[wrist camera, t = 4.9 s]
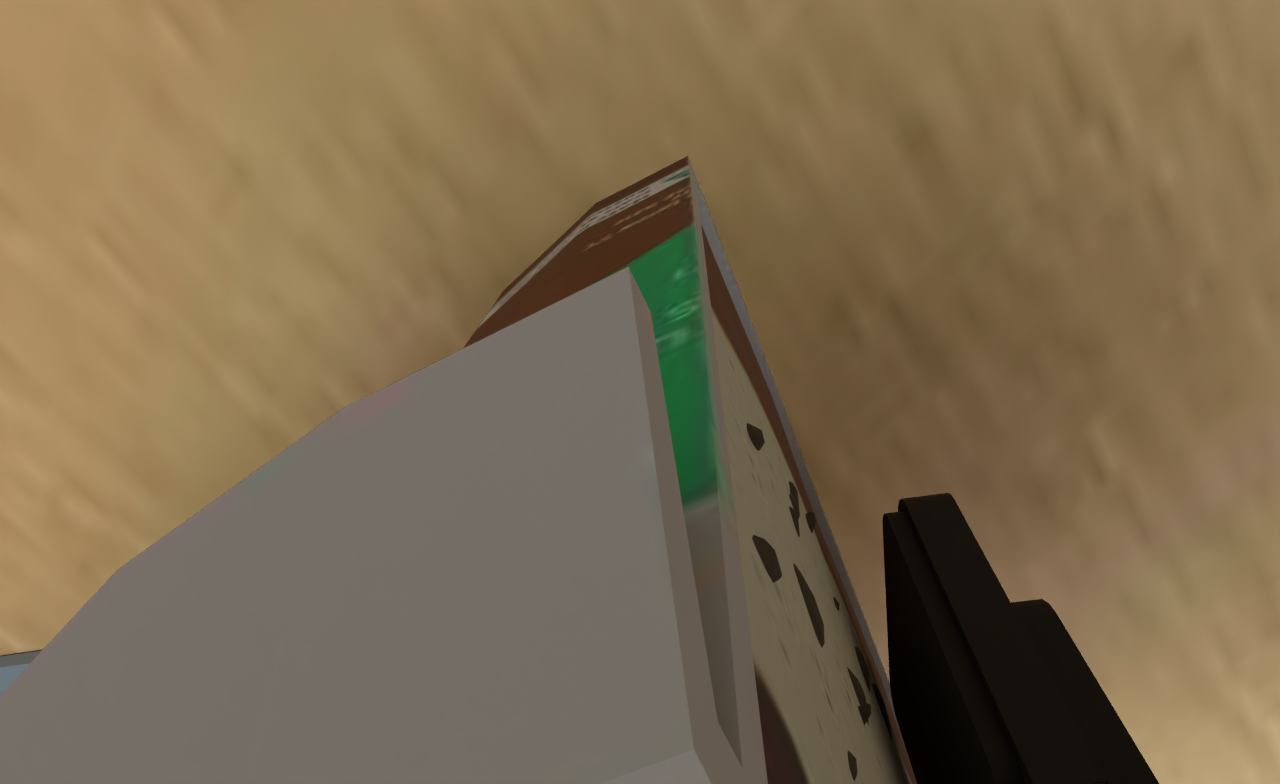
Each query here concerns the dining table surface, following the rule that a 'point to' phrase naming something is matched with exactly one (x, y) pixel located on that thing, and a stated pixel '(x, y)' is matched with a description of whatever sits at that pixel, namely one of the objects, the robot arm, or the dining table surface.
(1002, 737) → the robot arm
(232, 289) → the dining table surface
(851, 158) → the dining table surface
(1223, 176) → the dining table surface
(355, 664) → the food container
